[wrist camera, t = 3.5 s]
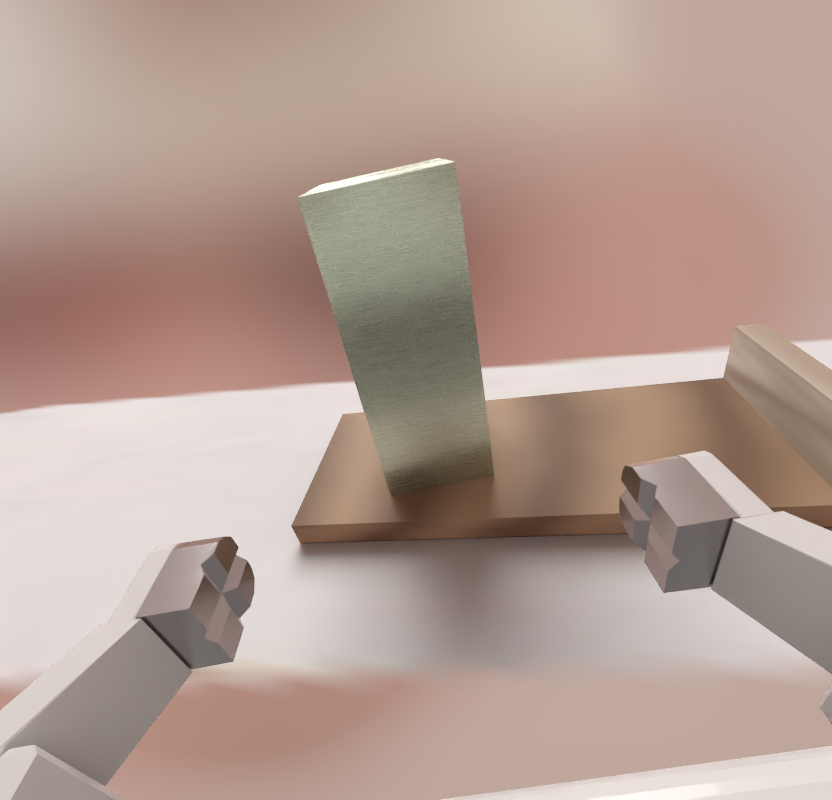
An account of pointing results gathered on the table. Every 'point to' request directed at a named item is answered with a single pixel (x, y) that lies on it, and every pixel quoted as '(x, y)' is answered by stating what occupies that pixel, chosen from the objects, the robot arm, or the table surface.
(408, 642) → the table surface
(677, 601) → the table surface
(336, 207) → the tea tin
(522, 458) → the shelf board
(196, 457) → the table surface
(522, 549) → the table surface
